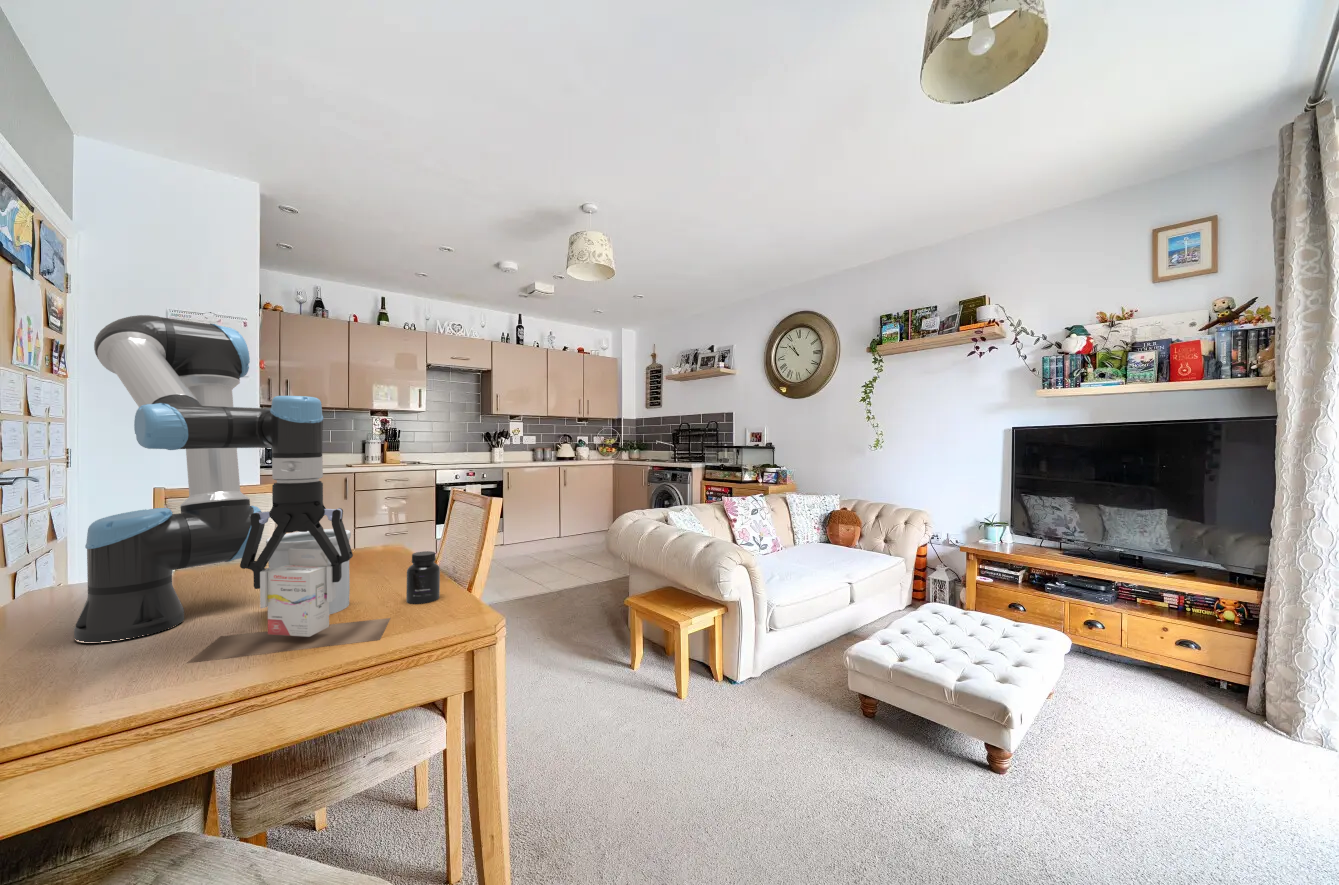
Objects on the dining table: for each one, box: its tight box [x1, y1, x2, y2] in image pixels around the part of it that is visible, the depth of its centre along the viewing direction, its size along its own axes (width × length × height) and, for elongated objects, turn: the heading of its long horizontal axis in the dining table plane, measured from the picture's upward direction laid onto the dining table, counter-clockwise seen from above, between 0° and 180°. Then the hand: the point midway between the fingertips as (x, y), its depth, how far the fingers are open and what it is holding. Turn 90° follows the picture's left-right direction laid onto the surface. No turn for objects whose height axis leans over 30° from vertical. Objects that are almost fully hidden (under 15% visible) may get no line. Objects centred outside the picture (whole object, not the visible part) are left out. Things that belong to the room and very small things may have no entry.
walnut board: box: [186, 617, 391, 664], centre depth 95 cm, size 28×12×2 cm, turn 110°
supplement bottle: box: [406, 550, 441, 605], centre depth 117 cm, size 7×7×12 cm
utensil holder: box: [265, 528, 351, 616], centre depth 110 cm, size 15×15×18 cm
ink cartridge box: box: [267, 549, 330, 637], centre depth 94 cm, size 9×5×15 cm, turn 84°
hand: (299, 602), depth 95 cm, fingers closed on ink cartridge box, 9 cm apart
